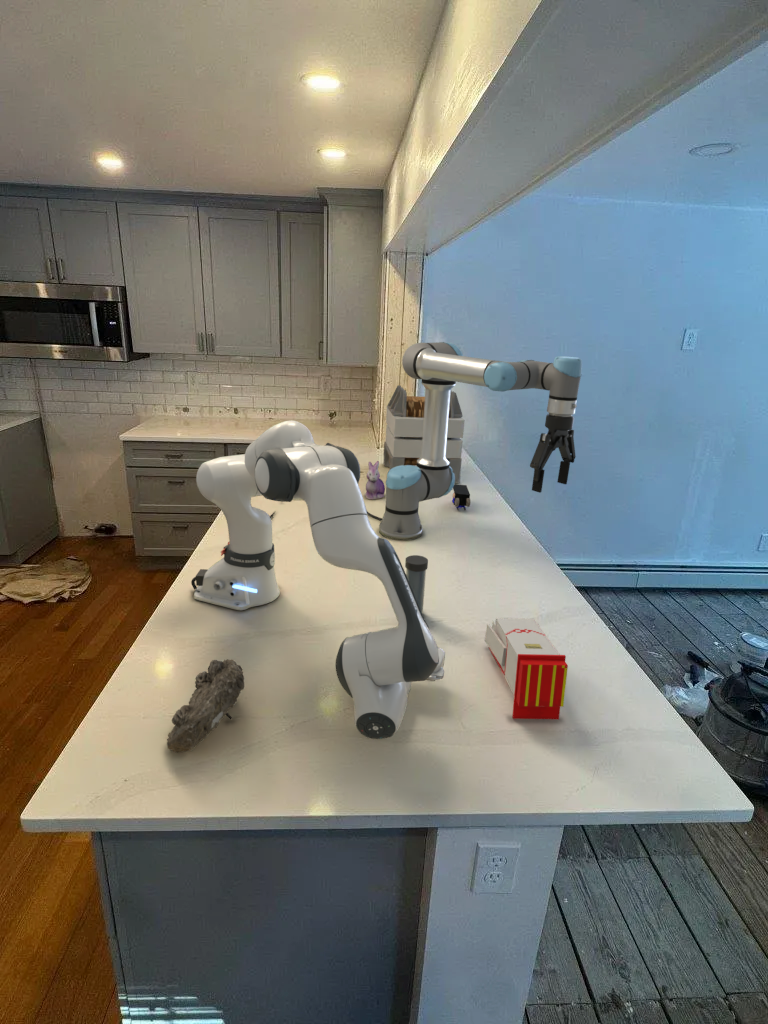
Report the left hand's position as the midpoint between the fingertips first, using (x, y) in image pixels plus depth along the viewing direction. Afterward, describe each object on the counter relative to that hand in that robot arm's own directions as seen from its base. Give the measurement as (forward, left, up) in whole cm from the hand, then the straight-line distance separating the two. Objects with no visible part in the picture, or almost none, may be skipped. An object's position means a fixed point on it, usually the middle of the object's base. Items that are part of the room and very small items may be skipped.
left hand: (401, 636), depth 126 cm
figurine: (-28, +114, -6) cm, 118 cm away
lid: (0, +21, +9) cm, 23 cm away
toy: (+26, 0, -6) cm, 27 cm away
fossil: (-32, -26, -6) cm, 42 cm away
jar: (0, +21, -7) cm, 22 cm away
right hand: (+34, +56, +21) cm, 69 cm away
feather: (-60, +81, -6) cm, 101 cm away
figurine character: (+8, +112, -6) cm, 113 cm away
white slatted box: (-14, +156, -6) cm, 157 cm away
